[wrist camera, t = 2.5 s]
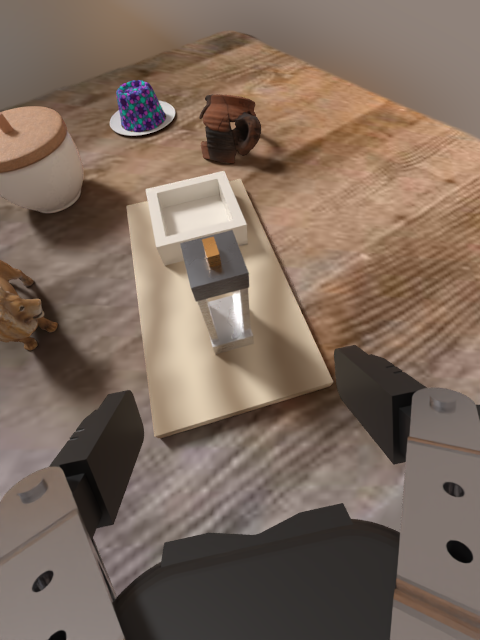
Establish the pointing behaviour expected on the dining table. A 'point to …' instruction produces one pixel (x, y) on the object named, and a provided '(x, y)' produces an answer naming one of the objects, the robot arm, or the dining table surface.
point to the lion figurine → (19, 310)
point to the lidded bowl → (38, 160)
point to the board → (194, 340)
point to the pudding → (140, 110)
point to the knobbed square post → (220, 288)
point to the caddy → (193, 213)
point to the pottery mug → (229, 127)
